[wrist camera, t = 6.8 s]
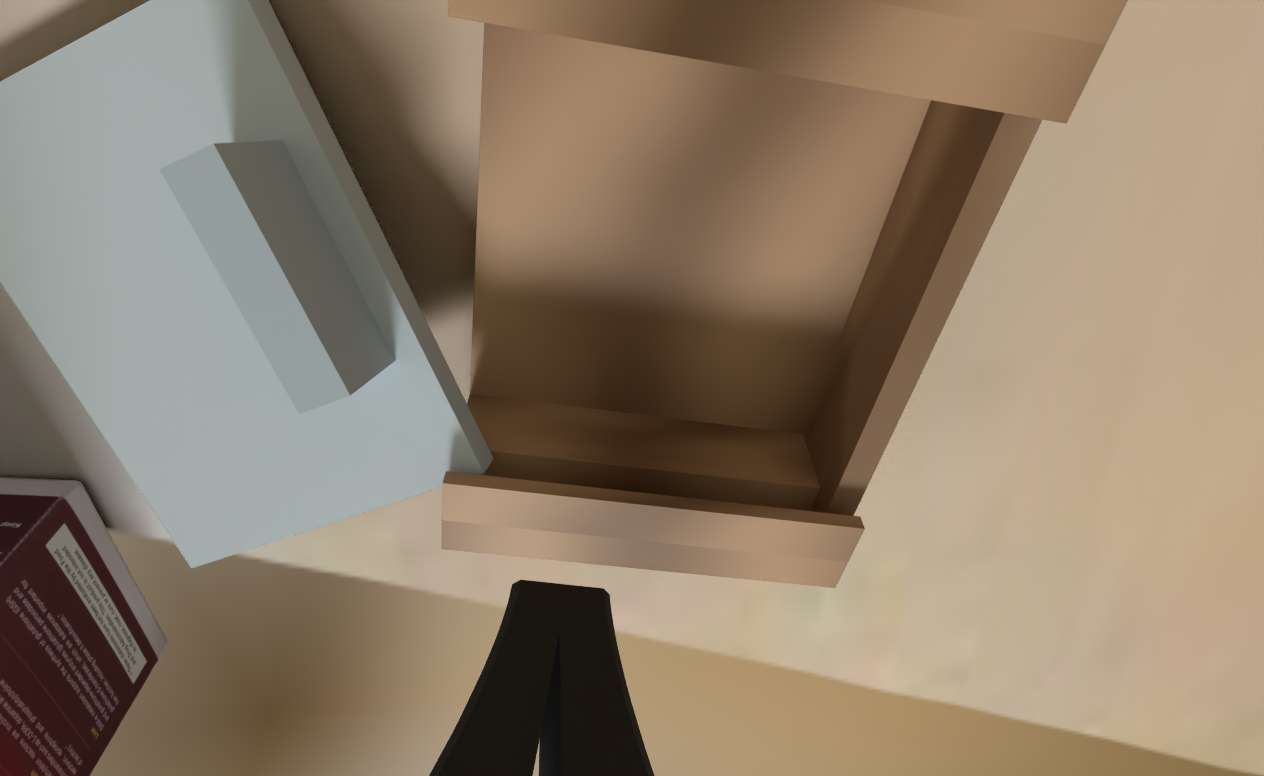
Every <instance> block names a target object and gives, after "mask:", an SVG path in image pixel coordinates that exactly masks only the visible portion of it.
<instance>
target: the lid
mask: <svg viewBox="0 0 1264 776" xmlns="http://www.w3.org/2000/svg"><path fill="white" fill-rule="evenodd" d="M0 283H1V284H2V286H3V287H4V289H5V290H6V292H7V293H8V295H9V296H10V298H11V299H12V301H13V302H14V304H15V305H16V306H17V308H18V309H19V311H20V312H21V314H22V315H23V317H24V318H25V320H26V321H27V323H28V324H29V326H30V327H31V329H32V330H33V332H34V333H35V335H36V336H37V338H38V339H39V341H40V342H41V344H42V345H43V347H44V348H45V350H46V351H47V353H48V354H49V356H50V357H51V359H52V360H53V362H54V363H55V365H56V366H57V368H58V369H59V371H60V372H61V374H62V375H63V377H64V378H65V380H66V381H67V383H68V384H69V386H70V387H71V389H72V390H73V392H74V393H75V395H76V396H77V398H78V399H79V401H80V402H81V404H82V405H83V407H84V408H85V410H86V411H87V413H88V414H89V416H90V417H91V419H92V420H93V422H94V423H95V425H96V426H97V428H98V429H99V431H100V432H101V434H102V435H103V437H104V438H105V440H106V441H107V443H108V444H109V446H110V447H111V449H112V450H113V452H114V453H115V455H116V456H117V458H118V459H119V461H120V462H121V464H122V465H123V467H124V468H125V470H126V471H127V473H128V474H129V476H130V477H131V479H132V480H133V482H134V483H135V485H136V486H137V488H138V489H139V491H140V492H141V494H142V495H143V497H144V498H145V500H146V501H147V502H148V504H149V505H150V507H151V508H152V510H153V511H154V513H155V514H156V516H157V517H158V519H159V520H160V522H161V523H162V525H163V526H164V528H165V529H166V531H167V532H168V534H169V535H170V537H171V538H172V540H173V541H174V543H175V544H176V546H177V547H178V549H179V550H180V552H181V553H182V555H183V556H184V558H185V559H186V561H187V562H188V564H189V565H190V567H191V568H194V567H197V566H200V565H203V564H206V563H210V562H213V561H216V560H219V559H222V558H225V557H227V556H231V555H234V554H237V553H240V552H243V551H247V550H250V549H253V548H256V547H259V546H262V545H265V544H268V543H271V542H274V541H277V540H280V539H283V538H287V537H290V536H293V535H296V534H299V533H302V532H305V531H308V530H311V529H314V528H317V527H320V526H323V525H327V524H330V523H333V522H336V521H339V520H342V519H345V518H348V517H351V516H354V515H357V514H360V513H363V512H366V511H370V510H373V509H376V508H379V507H382V506H385V505H388V504H391V503H394V502H397V501H400V500H403V499H406V498H410V497H413V496H416V495H419V494H422V493H425V492H428V491H431V490H434V489H437V488H440V487H442V483H443V479H444V476H445V472H446V471H449V472H458V473H467V474H476V475H480V474H483V473H485V471H486V469H487V468H488V466H489V465H490V463H491V462H492V460H493V456H492V454H491V452H490V450H489V448H488V446H487V444H486V442H485V440H484V438H483V436H482V434H481V432H480V430H479V428H478V426H477V424H476V422H475V420H474V418H473V415H472V413H471V411H470V409H469V407H468V405H467V403H466V401H465V399H464V397H463V395H462V393H461V391H460V389H459V387H458V385H457V383H456V381H455V379H454V377H453V375H452V373H451V371H450V369H449V367H448V365H447V363H446V361H445V358H444V356H443V354H442V352H441V350H440V348H439V346H438V344H437V342H436V340H435V338H434V336H433V334H432V332H431V330H430V328H429V326H428V324H427V322H426V320H425V318H424V316H423V314H422V312H421V310H420V308H419V306H418V304H417V301H416V299H415V297H414V295H413V293H412V291H411V289H410V287H409V285H408V283H407V281H406V279H405V277H404V275H403V273H402V271H401V269H400V267H399V265H398V263H397V261H396V259H395V257H394V255H393V253H392V251H391V249H390V247H389V245H388V242H387V240H386V238H385V236H384V234H383V232H382V230H381V228H380V226H379V224H378V222H377V220H376V218H375V216H374V214H373V212H372V210H371V208H370V206H369V204H368V202H367V200H366V198H365V196H364V194H363V192H362V190H361V188H360V185H359V183H358V181H357V179H356V177H355V175H354V173H353V171H352V169H351V167H350V165H349V163H348V161H347V159H346V157H345V155H344V153H343V151H342V149H341V147H340V145H339V143H338V141H337V139H336V137H335V135H334V133H333V131H332V128H331V126H330V124H329V122H328V120H327V118H326V116H325V114H324V112H323V110H322V108H321V106H320V104H319V102H318V100H317V98H316V96H315V94H314V92H313V90H312V88H311V86H310V84H309V82H308V80H307V78H306V76H305V74H304V72H303V69H302V67H301V65H300V63H299V61H298V59H297V57H296V55H295V53H294V51H293V49H292V47H291V45H290V43H289V41H288V39H287V37H286V35H285V33H284V31H283V29H282V27H281V25H280V23H279V21H278V19H277V17H276V15H275V12H274V10H273V8H272V6H271V4H270V2H269V0H149V1H148V2H146V3H144V4H142V5H140V6H138V7H136V8H135V9H133V10H131V11H129V12H127V13H125V14H124V15H122V16H120V17H118V18H116V19H114V20H113V21H111V22H109V23H107V24H105V25H103V26H101V27H100V28H98V29H96V30H94V31H92V32H90V33H89V34H87V35H85V36H83V37H81V38H79V39H78V40H76V41H74V42H72V43H70V44H68V45H66V46H65V47H63V48H61V49H59V50H57V51H55V52H54V53H52V54H50V55H48V56H46V57H44V58H43V59H41V60H39V61H37V62H35V63H33V64H31V65H30V66H28V67H26V68H24V69H22V70H20V71H19V72H17V73H15V74H13V75H11V76H9V77H8V78H6V79H4V80H2V81H0Z"/></svg>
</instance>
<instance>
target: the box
mask: <svg viewBox="0 0 1264 776" xmlns="http://www.w3.org/2000/svg"><path fill="white" fill-rule="evenodd" d="M1127 1H1128V0H448V16H449V17H455V18H461V19H466V20H472V21H478V22H484V49H483V74H482V100H481V126H480V151H479V177H478V203H477V229H476V254H475V280H474V306H473V331H472V357H471V383H470V396H469V399H468V403H467V405H468V407H469V409H470V411H471V413H472V415H473V418H474V420H475V422H476V424H477V426H478V428H479V430H480V432H481V434H482V436H483V438H484V440H485V442H486V444H487V446H488V448H489V450H490V452H491V454H492V456H493V460H492V462H491V463H490V465H489V466H488V468H487V469H486V471H485V473H483V474H480V475H476V474H467V473H458V472H449V471H446V472H445V476H444V479H443V483H442V549H447V550H457V551H467V552H477V553H487V554H497V555H507V556H518V557H528V558H538V559H548V560H558V561H568V562H578V563H588V564H598V565H608V566H618V567H629V568H639V569H649V570H659V571H669V572H679V573H689V574H699V575H709V576H719V577H730V578H740V579H750V580H760V581H770V582H780V583H790V584H800V585H810V586H820V587H830V588H836V586H837V584H838V582H839V580H840V578H841V576H842V574H843V572H844V569H845V567H846V565H847V563H848V561H849V559H850V557H851V555H852V553H853V551H854V549H855V547H856V545H857V543H858V541H859V539H860V537H861V535H862V533H863V531H864V529H865V528H864V526H863V523H862V520H861V517H858V516H853V515H854V513H855V511H856V509H857V507H858V505H859V503H860V501H861V499H862V496H863V494H864V492H865V490H866V488H867V486H868V484H869V482H870V480H871V478H872V475H873V473H874V471H875V469H876V467H877V465H878V463H879V461H880V459H881V457H882V455H883V452H884V450H885V448H886V446H887V444H888V442H889V440H890V438H891V436H892V434H893V431H894V429H895V427H896V425H897V423H898V421H899V419H900V417H901V415H902V413H903V411H904V408H905V406H906V404H907V402H908V400H909V398H910V396H911V394H912V392H913V390H914V387H915V385H916V383H917V381H918V379H919V377H920V375H921V373H922V371H923V369H924V367H925V364H926V362H927V360H928V358H929V356H930V354H931V352H932V350H933V348H934V346H935V343H936V341H937V339H938V337H939V335H940V333H941V331H942V329H943V327H944V325H945V323H946V320H947V318H948V316H949V314H950V312H951V310H952V308H953V306H954V304H955V302H956V299H957V297H958V295H959V293H960V291H961V289H962V287H963V285H964V283H965V281H966V279H967V276H968V274H969V272H970V270H971V268H972V266H973V264H974V262H975V260H976V258H977V255H978V253H979V251H980V249H981V247H982V245H983V243H984V241H985V239H986V237H987V235H988V232H989V230H990V228H991V226H992V224H993V222H994V220H995V218H996V216H997V214H998V211H999V209H1000V207H1001V205H1002V203H1003V201H1004V199H1005V197H1006V195H1007V193H1008V191H1009V188H1010V186H1011V184H1012V182H1013V180H1014V178H1015V176H1016V174H1017V172H1018V170H1019V167H1020V165H1021V163H1022V161H1023V159H1024V157H1025V155H1026V153H1027V151H1028V149H1029V147H1030V144H1031V142H1032V140H1033V138H1034V136H1035V134H1036V132H1037V130H1038V128H1039V126H1040V123H1041V121H1042V119H1043V120H1049V121H1054V122H1060V123H1067V121H1068V119H1069V117H1070V115H1071V113H1072V111H1073V109H1074V107H1075V105H1076V103H1077V101H1078V99H1079V97H1080V95H1081V93H1082V91H1083V89H1084V87H1085V85H1086V83H1087V81H1088V79H1089V77H1090V75H1091V73H1092V71H1093V69H1094V67H1095V65H1096V63H1097V61H1098V59H1099V57H1100V55H1101V53H1102V51H1103V49H1104V47H1105V45H1106V43H1107V41H1108V39H1109V37H1110V35H1111V33H1112V31H1113V29H1114V27H1115V25H1116V23H1117V21H1118V19H1119V17H1120V15H1121V13H1122V11H1123V9H1124V7H1125V5H1126V3H1127Z"/></svg>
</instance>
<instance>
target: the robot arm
mask: <svg viewBox="0 0 1264 776" xmlns="http://www.w3.org/2000/svg"><path fill="white" fill-rule="evenodd" d="M539 739H540V751H539V776H654V773H653V771H652V767H651V765H650V761H649V759H648V755H647V753H646V749H645V746H644V743H643V740H642V736H641V733H640V730H639V726H638V723H637V720H636V716H635V713H634V710H633V706H632V703H631V699H630V696H629V692H628V688H627V685H626V681H625V677H624V672H623V668H622V664H621V660H620V656H619V651H618V646H617V642H616V637H615V631H614V626H613V619H612V613H611V605H610V595H609V594H608V593H607V592H606V591H605V590H604V589H602V588H593V587H583V586H574V585H564V584H555V583H546V582H536V581H527V580H520V581H518V582H516V583H514V584H512V588H511V592H510V597H509V601H508V605H507V608H506V611H505V614H504V617H503V620H502V624H501V626H500V629H499V632H498V634H497V637H496V640H495V642H494V645H493V647H492V649H491V652H490V654H489V657H488V659H487V661H486V664H485V666H484V669H483V671H482V673H481V675H480V677H479V679H478V681H477V684H476V686H475V688H474V690H473V692H472V694H471V696H470V698H469V701H468V703H467V705H466V707H465V709H464V711H463V713H462V715H461V717H460V719H459V722H458V723H457V725H456V727H455V729H454V731H453V733H452V735H451V737H450V739H449V740H448V742H447V744H446V746H445V748H444V750H443V751H442V753H441V755H440V757H439V759H438V761H437V763H436V764H435V766H434V768H433V770H432V772H431V773H430V776H532V775H533V770H534V764H535V759H536V754H537V749H538V744H539Z"/></svg>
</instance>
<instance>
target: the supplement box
mask: <svg viewBox="0 0 1264 776" xmlns="http://www.w3.org/2000/svg"><path fill="white" fill-rule="evenodd" d="M166 645H167V639H166V637H165V635H164V633H163V632H162V630H161V628H160V626H159V625H158V623H157V621H156V619H155V617H154V615H153V614H152V612H151V610H150V608H149V606H148V604H147V603H146V601H145V599H144V597H143V595H142V593H141V592H140V590H139V588H138V586H137V584H136V583H135V581H134V579H133V577H132V575H131V573H130V571H129V570H128V567H127V566H126V564H125V562H124V560H123V558H122V557H121V555H120V553H119V551H118V549H117V547H116V545H115V544H114V542H113V540H112V538H111V536H110V534H109V533H108V531H107V529H106V527H105V525H104V523H103V521H102V519H101V517H100V516H99V514H98V512H97V511H96V509H95V507H94V505H93V503H92V501H91V499H90V497H89V495H88V494H87V492H86V490H85V488H84V486H83V484H82V483H81V482H79V481H75V480H57V479H36V478H16V477H12V478H11V477H0V776H90V774H91V772H92V771H93V769H94V767H95V766H96V764H97V762H98V761H99V759H100V757H101V756H102V754H103V752H104V750H105V749H106V747H107V745H108V744H109V742H110V740H111V739H112V737H113V735H114V734H115V732H116V730H117V728H118V727H119V725H120V723H121V721H122V720H123V718H124V716H125V715H126V713H127V711H128V709H129V708H130V706H131V705H132V703H133V701H134V700H135V698H136V696H137V695H138V693H139V691H140V690H141V688H142V686H143V684H144V683H145V681H146V679H147V677H148V676H149V674H150V672H151V670H152V669H153V667H154V665H155V664H156V662H157V661H158V659H159V658H160V656H161V654H162V652H163V650H164V649H165V647H166Z"/></svg>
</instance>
